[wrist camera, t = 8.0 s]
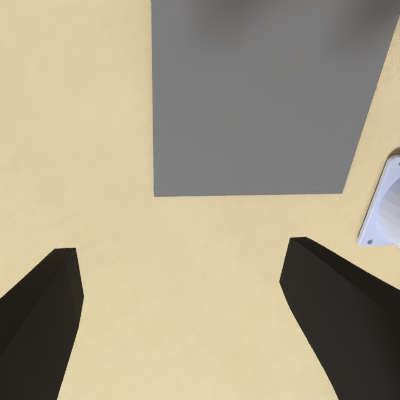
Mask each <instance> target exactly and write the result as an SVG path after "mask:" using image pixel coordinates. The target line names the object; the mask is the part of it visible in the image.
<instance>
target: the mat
mask: <svg viewBox="0 0 400 400" xmlns="http://www.w3.org/2000/svg"><path fill="white" fill-rule="evenodd" d="M151 8H152V81H153V155H154V197H169V196H227V195H284V194H342V192H343V189H344V186H345V183H346V180H347V176H348V173H349V170H350V167H351V164H352V161H353V158H354V155H355V152H356V148H357V145H358V142H359V139H360V136H361V133H362V130H363V127H364V124H365V120H366V117H367V114H368V111H369V108H370V105H371V102H372V99H373V96H374V92H375V89H376V86H377V83H378V80H379V77H380V74H381V71H382V67H383V64H384V61H385V58H386V55H387V52H388V49H389V46H390V43H391V39H392V36H393V33H394V30H395V27H396V24H397V21H398V18H399V15H400V0H151Z"/></svg>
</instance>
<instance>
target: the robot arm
mask: <svg viewBox="0 0 400 400" xmlns="http://www.w3.org/2000/svg"><path fill="white" fill-rule="evenodd" d="M357 243H358V244H359V245H360V246H362V247H364V246H382V245H395V246H396V247H398V248H399V249H400V155H393V156H391V157H390V158H389V159H388V160H387V163H386V165H385V168H384V171H383V173H382V176H381V178H380V181H379V184H378V186H377V189H376V192H375V194H374V197H373V200H372V202H371V205H370V207H369V210H368V213H367V215H366V218H365V221H364V223H363V226H362V229H361V231H360V234H359V236H358V239H357ZM279 282H280V285H281V288H282V290H283V293H284V295H285V298H286V300H287V303H288V305H289V307H290V309H291V311H292V313H293V315H294V317H295V319H296V320H297V322H298V324H299V326H300V328H301V329H302V331H303V333H304V335H305V336H306V338H307V340H308V342H309V344H310V345H311V347H312V349H313V351H314V352H315V354H316V356H317V358H318V360H319V361H320V363H321V365H322V367H323V368H324V370H325V372H326V374H327V376H328V378H329V380H330V382H331V384H332V386H333V388H334V390H335V393H336V395H337V397H338V399H339V400H400V290H399V289H397V288H395V287H393V286H391V285H389V284H387V283H386V282H384V281H382V280H380V279H378V278H377V277H375V276H373V275H371V274H370V273H368V272H366V271H364V270H363V269H361V268H359V267H357V266H356V265H354V264H352V263H351V262H349V261H347V260H346V259H344V258H342V257H341V256H339V255H337V254H336V253H334V252H332V251H331V250H329V249H327V248H325V247H324V246H322V245H320V244H318V243H317V242H315V241H313V240H311V239H309V238H307V237H295V238H290V240H289V244H288V248H287V252H286V256H285V260H284V265H283V269H282V273H281V277H280V281H279ZM83 299H84V294H83V288H82V282H81V276H80V270H79V264H78V258H77V252H76V248H60V249H54V250H53V251H52V252H51V253H49V254H48V255H47V256H46V257H45V258H44V259H43V260H42V261H41V262H40V263H39V264H38V265H37V266H35V267H34V268H33V269H32V270H31V271H30V272H29V273H28V274H27V275H26V276H25V277H24V278H23V279H22V280H20V281H19V282H18V283H17V284H16V285H15V286H14V287H13V288H12V289H10V290H9V291H8V292H7V293H6V294H5V295H4V296H3V297H2V298H0V400H57V397H58V394H59V391H60V387H61V384H62V381H63V378H64V374H65V371H66V368H67V364H68V361H69V358H70V355H71V351H72V348H73V345H74V341H75V338H76V335H77V331H78V328H79V322H80V317H81V311H82V305H83Z"/></svg>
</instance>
